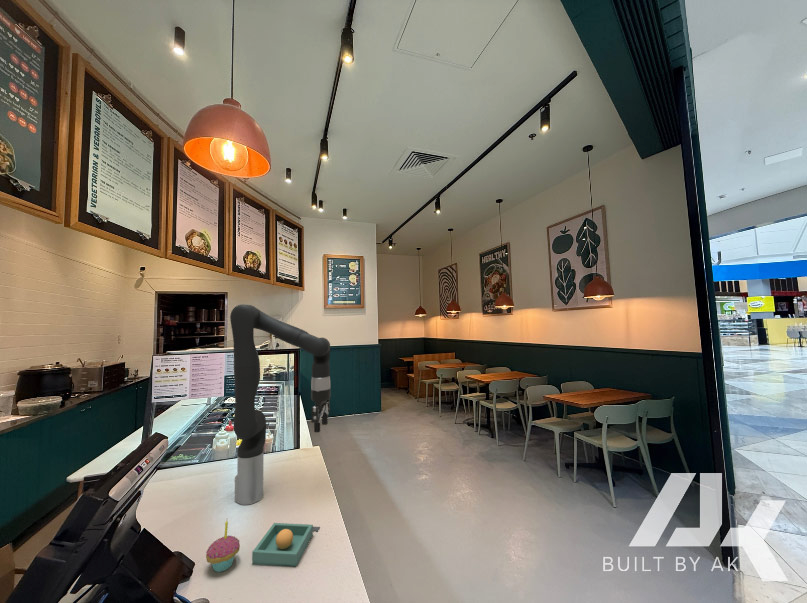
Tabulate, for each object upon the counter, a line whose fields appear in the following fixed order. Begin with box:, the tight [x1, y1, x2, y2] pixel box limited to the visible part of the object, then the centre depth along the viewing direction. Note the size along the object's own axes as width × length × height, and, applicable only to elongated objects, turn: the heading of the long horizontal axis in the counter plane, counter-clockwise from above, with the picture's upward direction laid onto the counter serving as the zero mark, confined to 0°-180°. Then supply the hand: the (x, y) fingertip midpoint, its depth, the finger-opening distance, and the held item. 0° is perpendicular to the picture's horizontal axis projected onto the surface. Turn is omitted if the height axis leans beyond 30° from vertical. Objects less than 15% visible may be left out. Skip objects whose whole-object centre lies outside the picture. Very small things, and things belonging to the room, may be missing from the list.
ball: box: [276, 529, 293, 549], centre depth 100 cm, size 5×5×5 cm
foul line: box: [313, 526, 321, 533], centre depth 109 cm, size 15×2×1 cm, turn 85°
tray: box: [251, 522, 314, 568], centre depth 100 cm, size 13×13×4 cm
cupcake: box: [205, 519, 241, 573], centre depth 94 cm, size 9×8×12 cm
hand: (321, 428), depth 132 cm, fingers open, 8 cm apart
